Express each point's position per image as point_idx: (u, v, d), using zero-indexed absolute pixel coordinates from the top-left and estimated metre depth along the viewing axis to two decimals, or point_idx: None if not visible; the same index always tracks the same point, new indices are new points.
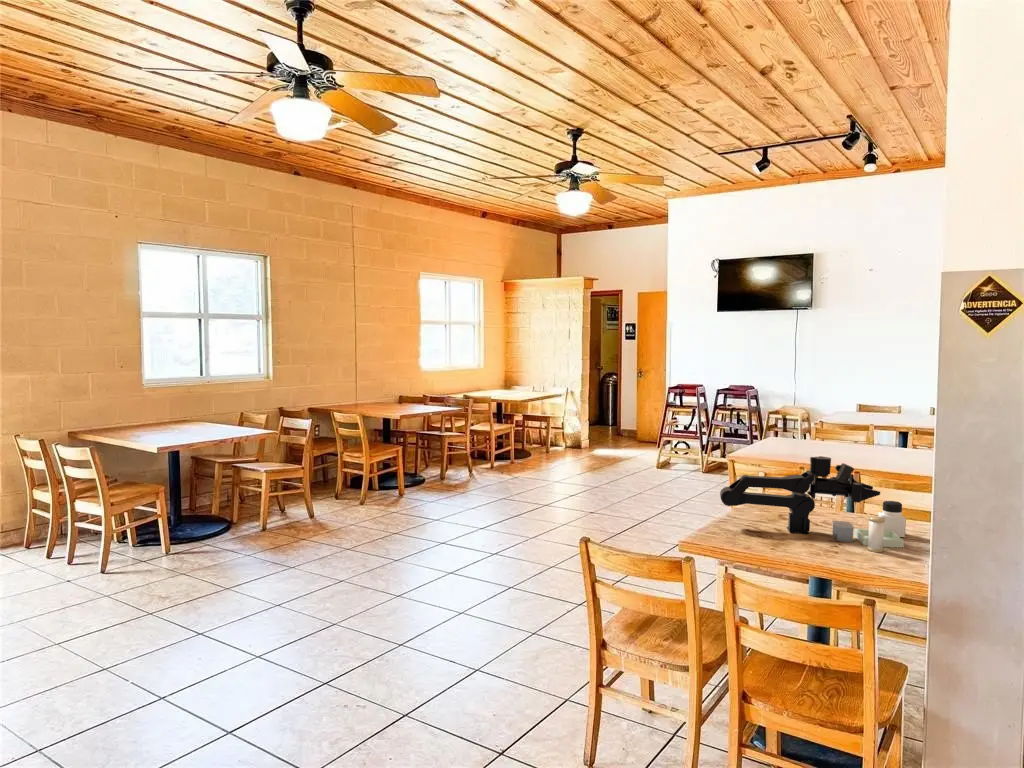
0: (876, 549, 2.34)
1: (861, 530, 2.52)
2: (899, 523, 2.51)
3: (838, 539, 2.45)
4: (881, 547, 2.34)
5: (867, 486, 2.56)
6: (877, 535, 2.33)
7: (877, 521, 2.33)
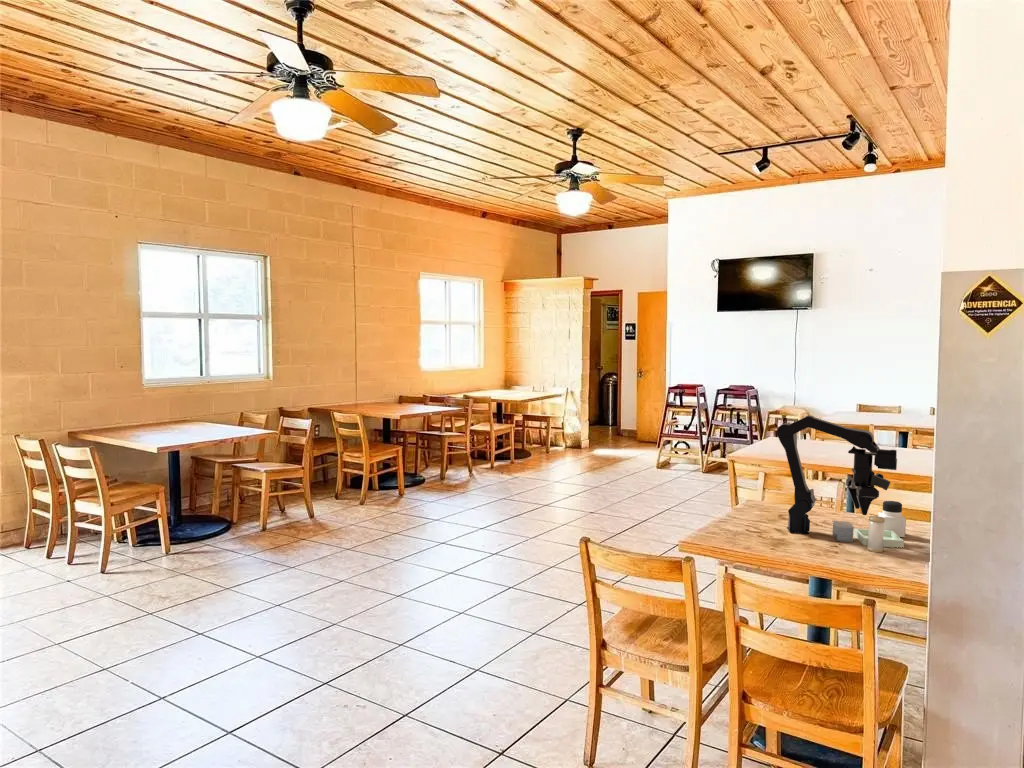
0: (876, 549, 2.34)
1: (861, 530, 2.52)
2: (899, 523, 2.51)
3: (838, 539, 2.45)
4: (881, 547, 2.34)
5: (858, 503, 2.51)
6: (877, 535, 2.33)
7: (877, 521, 2.33)
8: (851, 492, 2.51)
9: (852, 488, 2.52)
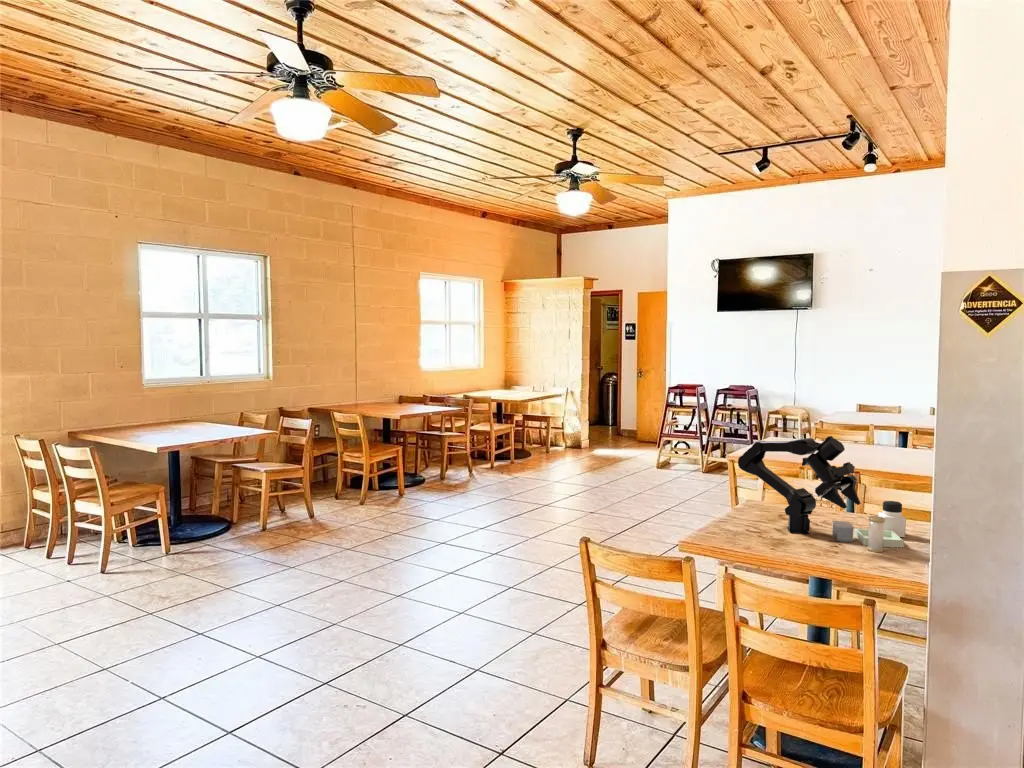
0: (876, 549, 2.34)
1: (861, 530, 2.52)
2: (899, 523, 2.51)
3: (838, 539, 2.45)
4: (881, 547, 2.34)
5: (856, 499, 2.45)
6: (877, 535, 2.33)
7: (877, 521, 2.33)
8: (844, 494, 2.48)
9: (843, 490, 2.49)
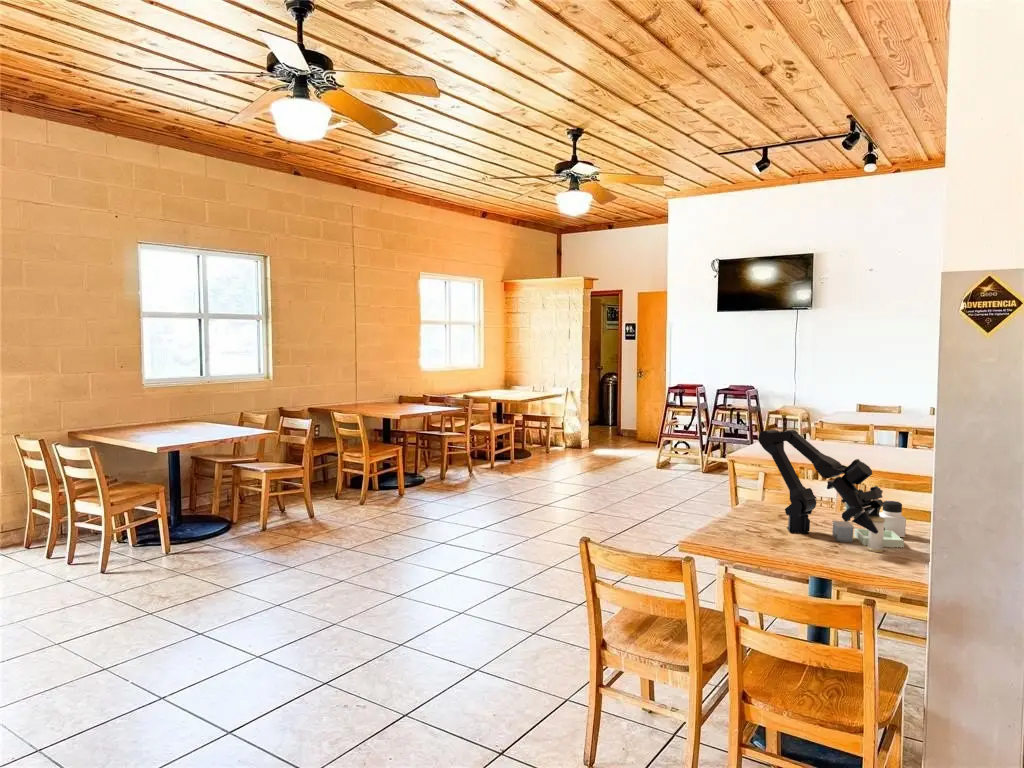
0: (876, 549, 2.34)
1: (861, 530, 2.52)
2: (899, 523, 2.51)
3: (838, 539, 2.45)
4: (882, 547, 2.34)
5: None
6: (877, 535, 2.33)
7: (877, 521, 2.33)
8: None
9: None
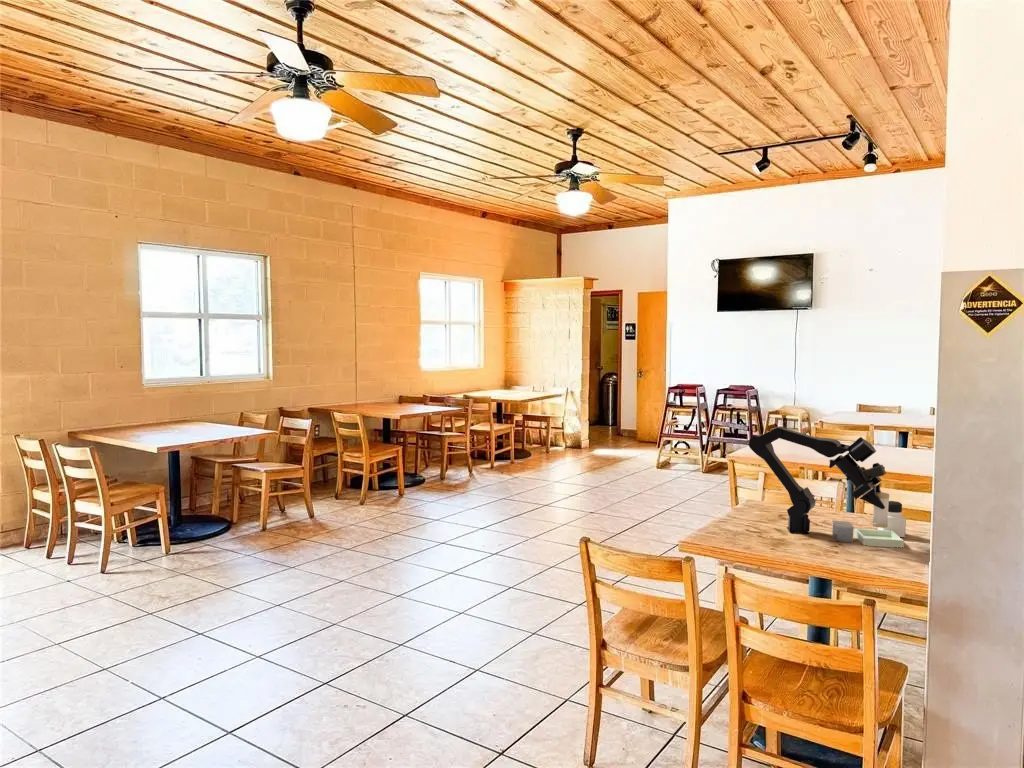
0: (882, 524, 2.39)
1: (861, 530, 2.52)
2: (899, 523, 2.51)
3: (838, 539, 2.45)
4: None
5: None
6: (883, 511, 2.38)
7: (884, 497, 2.38)
8: None
9: None
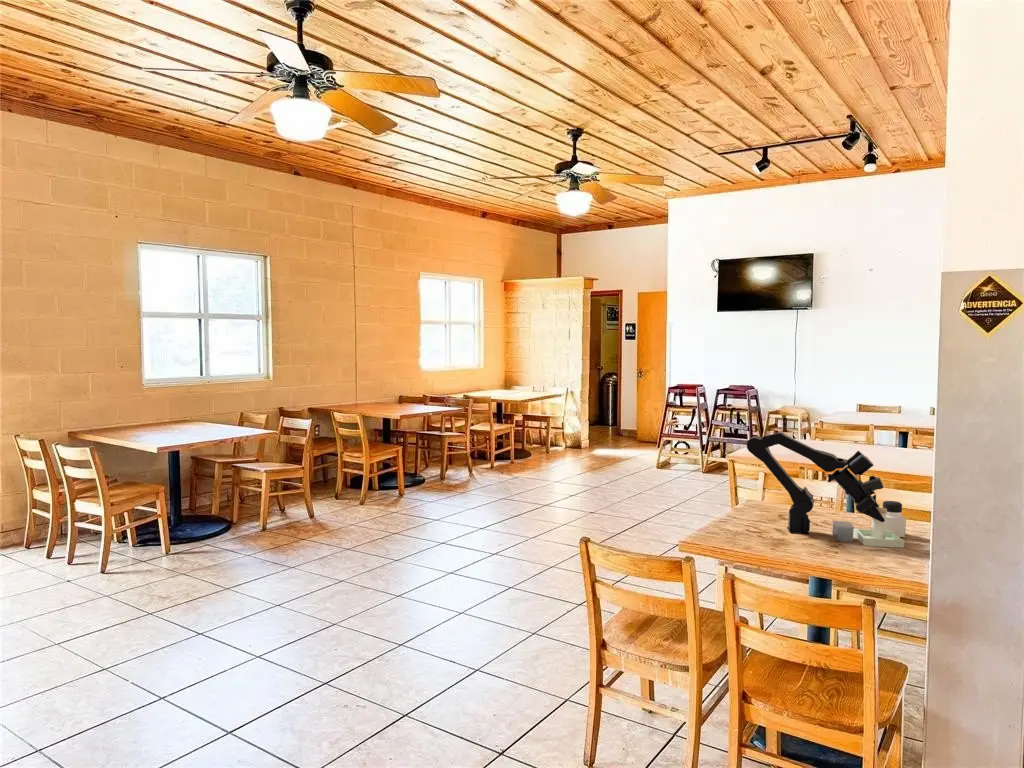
0: None
1: (861, 530, 2.52)
2: (899, 523, 2.51)
3: (838, 539, 2.45)
4: (885, 536, 2.45)
5: None
6: (882, 525, 2.43)
7: (883, 512, 2.43)
8: None
9: None
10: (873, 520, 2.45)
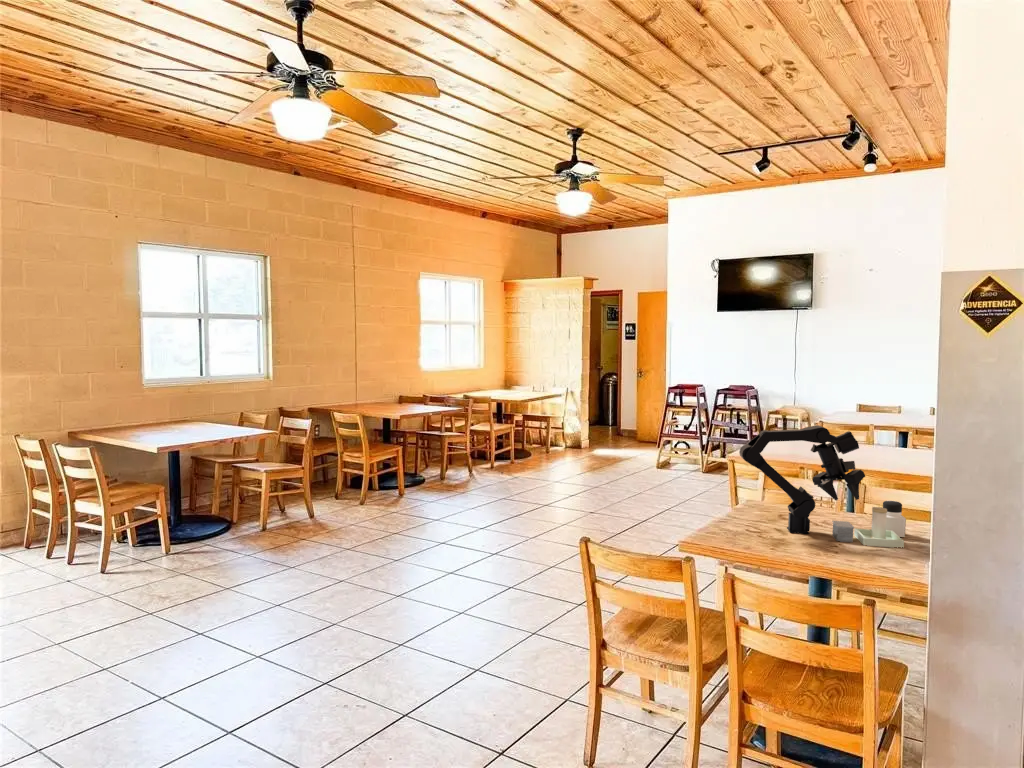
0: None
1: (861, 530, 2.52)
2: (899, 523, 2.51)
3: (838, 539, 2.45)
4: (885, 536, 2.45)
5: (835, 494, 2.58)
6: (882, 525, 2.43)
7: (883, 512, 2.43)
8: (826, 488, 2.58)
9: (824, 484, 2.58)
10: (873, 520, 2.45)
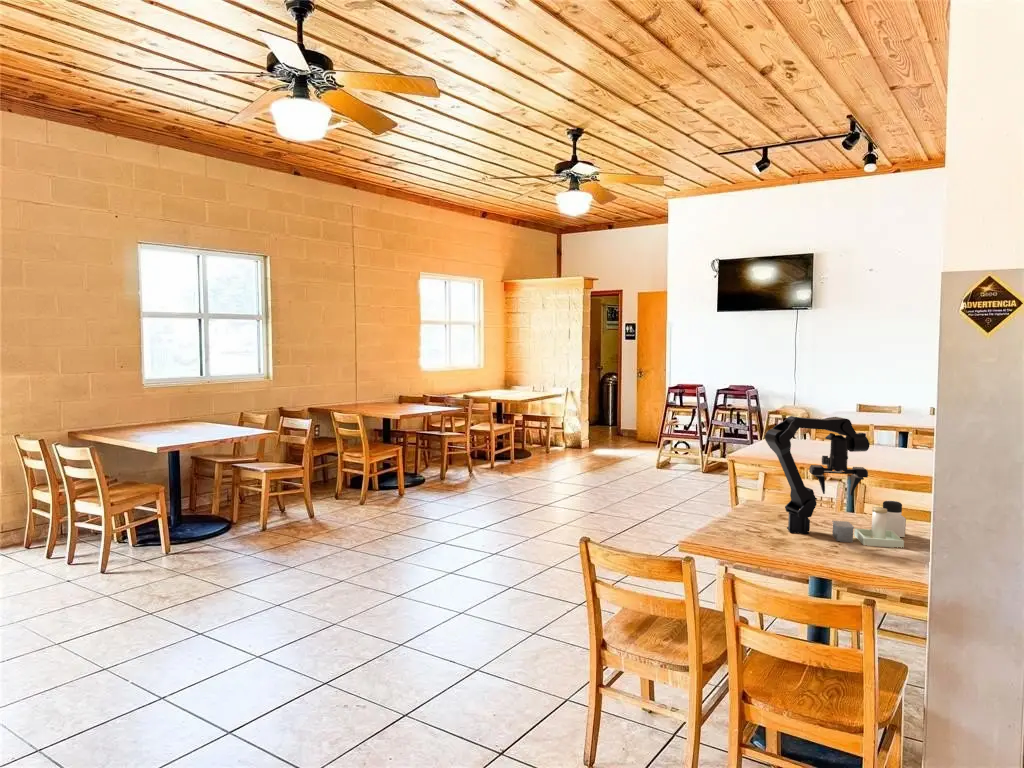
0: None
1: (861, 530, 2.52)
2: (899, 523, 2.51)
3: (838, 539, 2.45)
4: (885, 536, 2.45)
5: None
6: (882, 525, 2.43)
7: (883, 512, 2.43)
8: None
9: None
10: (873, 520, 2.45)
